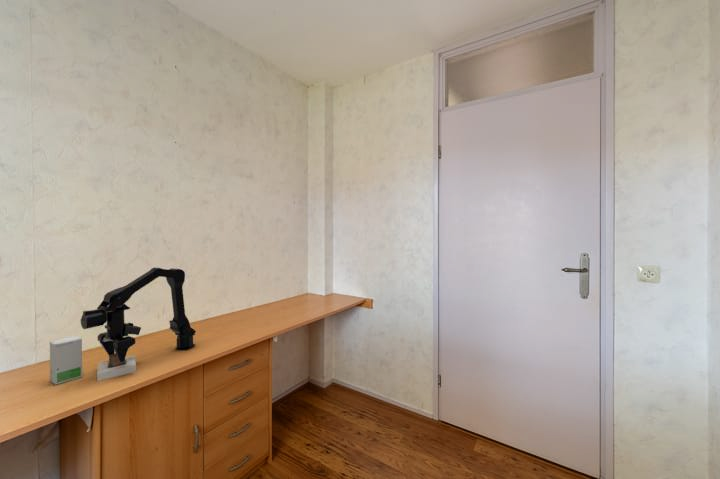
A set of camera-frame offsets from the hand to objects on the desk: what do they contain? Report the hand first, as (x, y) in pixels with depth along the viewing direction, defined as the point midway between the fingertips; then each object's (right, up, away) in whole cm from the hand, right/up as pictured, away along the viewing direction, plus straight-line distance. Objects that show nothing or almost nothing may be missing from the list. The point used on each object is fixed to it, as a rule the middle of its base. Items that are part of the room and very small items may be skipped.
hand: (116, 359), depth 124 cm
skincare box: (-15, -5, -6) cm, 17 cm away
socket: (0, -5, 0) cm, 5 cm away
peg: (0, -5, 0) cm, 5 cm away
